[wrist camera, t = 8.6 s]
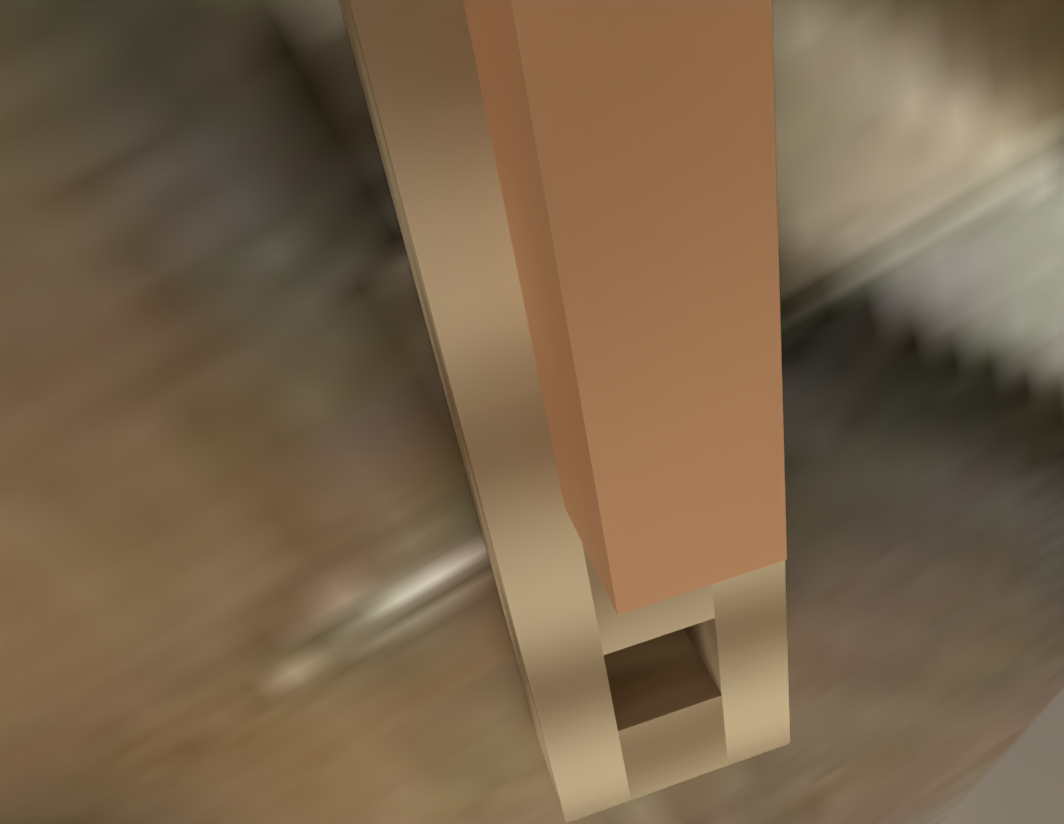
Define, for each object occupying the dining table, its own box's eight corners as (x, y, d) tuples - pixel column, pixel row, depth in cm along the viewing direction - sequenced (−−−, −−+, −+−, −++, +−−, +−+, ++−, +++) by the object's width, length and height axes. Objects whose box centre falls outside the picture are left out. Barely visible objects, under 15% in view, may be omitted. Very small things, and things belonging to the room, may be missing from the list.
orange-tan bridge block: (663, 400, 20) (787, 559, 15) (531, 439, 19) (618, 615, 15) (602, -129, 14) (768, -131, 10) (418, -88, 14) (498, -70, 9)
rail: (737, 658, 25) (789, 743, 23) (534, 727, 25) (566, 823, 22) (666, -338, 13) (759, -388, 11) (267, -263, 13) (271, -297, 10)
